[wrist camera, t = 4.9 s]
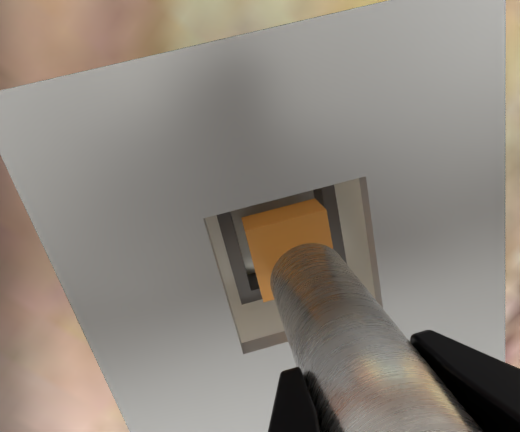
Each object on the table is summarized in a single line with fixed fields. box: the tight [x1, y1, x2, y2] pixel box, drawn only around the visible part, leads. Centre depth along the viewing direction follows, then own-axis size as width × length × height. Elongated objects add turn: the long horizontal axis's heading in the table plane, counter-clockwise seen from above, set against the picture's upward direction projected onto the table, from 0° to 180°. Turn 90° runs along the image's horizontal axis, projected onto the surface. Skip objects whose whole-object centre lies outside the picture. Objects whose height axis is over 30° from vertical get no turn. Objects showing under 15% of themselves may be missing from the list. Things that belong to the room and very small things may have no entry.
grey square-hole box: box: [0, 0, 506, 432], centre depth 14 cm, size 14×14×5 cm
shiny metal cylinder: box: [270, 243, 483, 432], centre depth 7 cm, size 2×2×10 cm
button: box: [241, 198, 333, 302], centre depth 13 cm, size 3×3×1 cm
